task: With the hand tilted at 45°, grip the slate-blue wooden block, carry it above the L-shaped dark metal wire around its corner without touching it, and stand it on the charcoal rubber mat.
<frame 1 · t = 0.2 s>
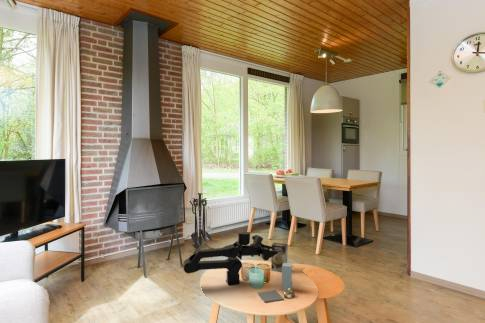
hand: (274, 249, 176), 17 cm above the table, tool horizontal, fingers open, 9 cm apart
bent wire: (292, 296, 153), on the table
rubber mat: (270, 296, 153), on the table
slate block: (286, 288, 162), on the table
coffee box: (279, 270, 189), on the table
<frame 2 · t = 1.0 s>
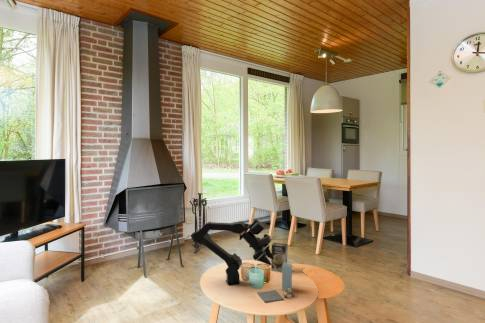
hand: (272, 261, 164), 14 cm above the table, tool tilted 45°, fingers open, 9 cm apart
nothing on the table moved.
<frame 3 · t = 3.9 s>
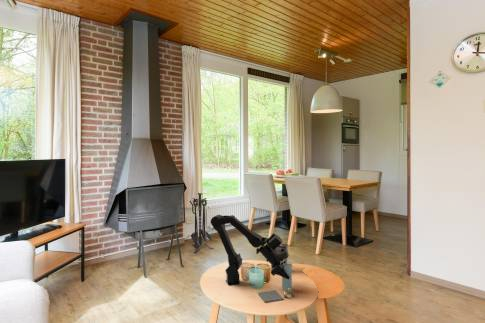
hand: (289, 276, 161), 7 cm above the table, tool tilted 45°, fingers closed on slate block, 5 cm apart
slate block: (286, 288, 162), on the table, touching gripper
everything else where it was.
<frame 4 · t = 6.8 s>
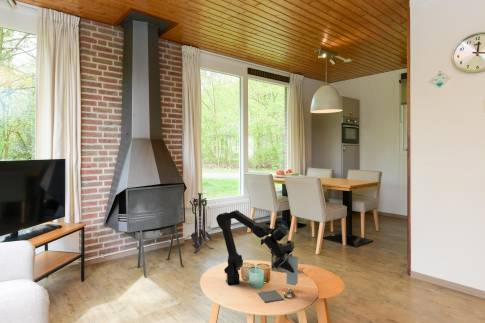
hand: (294, 270, 152), 13 cm above the table, tool tilted 45°, fingers closed on slate block, 5 cm apart
slate block: (292, 283, 153), point 7 cm above the table, touching gripper
everything else where it was.
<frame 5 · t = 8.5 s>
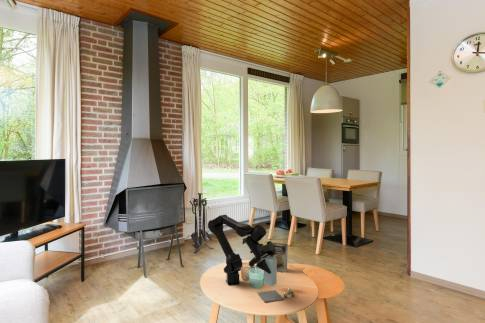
hand: (272, 271, 152), 13 cm above the table, tool tilted 45°, fingers closed on slate block, 5 cm apart
slate block: (270, 283, 153), point 6 cm above the table, touching gripper
everything else where it was.
when the fingers open (9 cm above the table, at t = 9.8 s): slate block drops 1 cm, resting on rubber mat.
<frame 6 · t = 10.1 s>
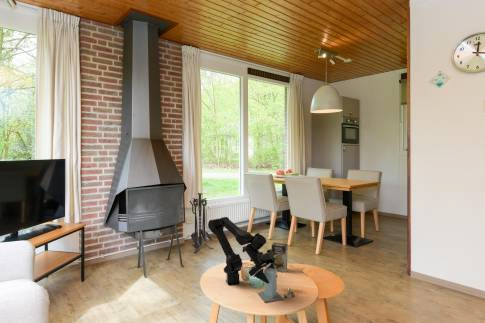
hand: (272, 280, 152), 9 cm above the table, tool tilted 45°, fingers open, 8 cm apart
slate block: (270, 295, 153), point 1 cm above the table, touching rubber mat
everything else where it was.
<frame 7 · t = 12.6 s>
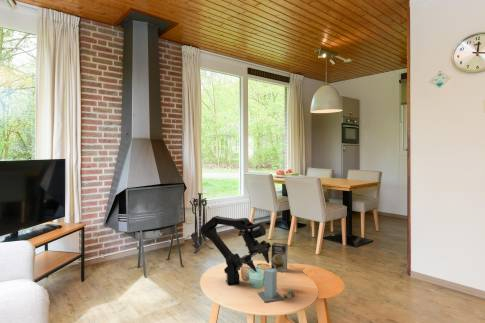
hand: (262, 267, 162), 11 cm above the table, tool tilted 25°, fingers open, 9 cm apart
nothing on the table moved.
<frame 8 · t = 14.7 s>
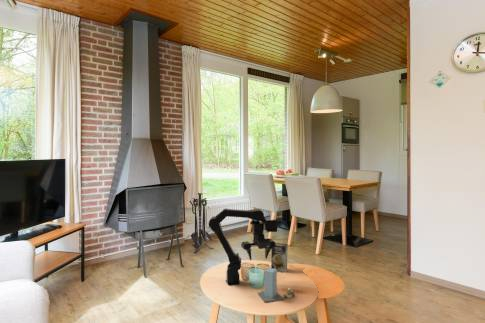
hand: (258, 259, 170), 13 cm above the table, tool pointing down, fingers open, 9 cm apart
nothing on the table moved.
at the end: slate block inside the target area (0.0 cm from its centre), point 0.6 cm above the table; slate block tilted 0°; the gripper is holding nothing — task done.
